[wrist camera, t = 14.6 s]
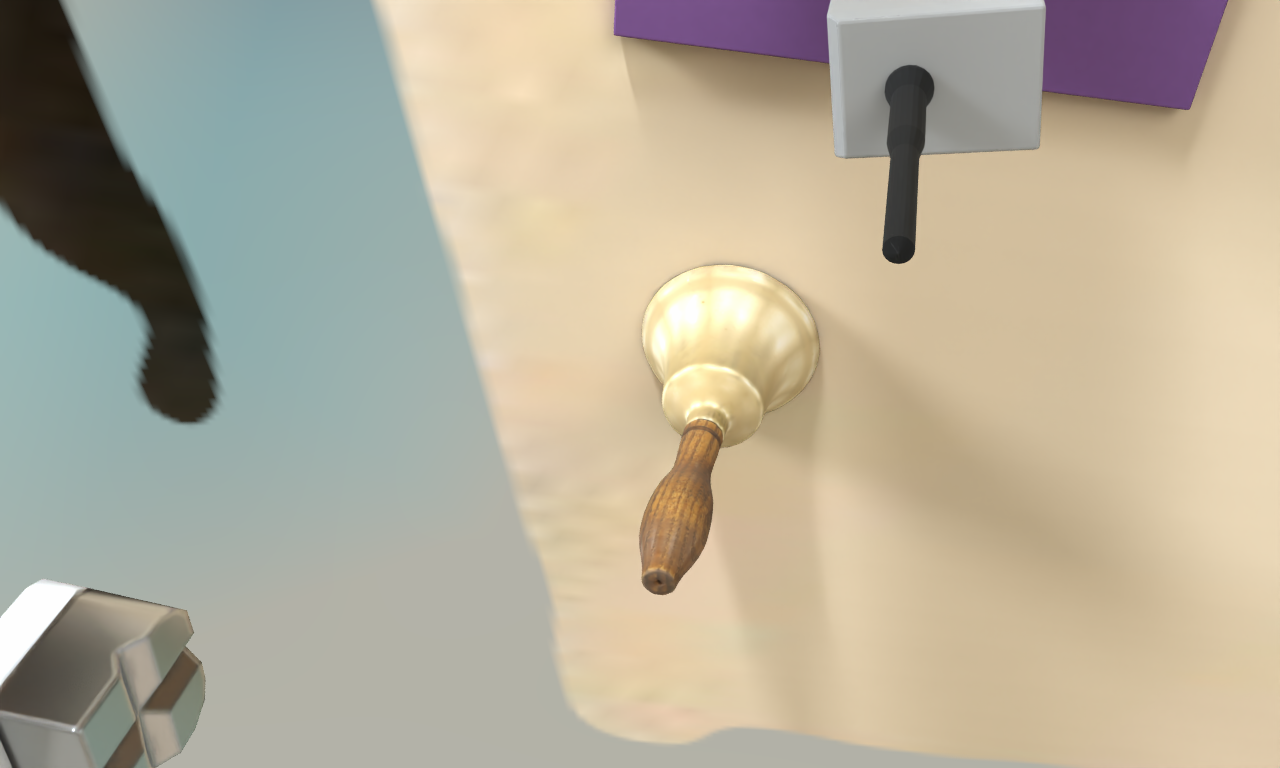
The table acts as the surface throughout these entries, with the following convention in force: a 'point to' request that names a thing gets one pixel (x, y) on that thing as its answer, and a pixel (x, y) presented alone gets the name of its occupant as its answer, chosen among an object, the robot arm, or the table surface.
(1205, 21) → the mat
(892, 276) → the table surface
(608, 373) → the table surface
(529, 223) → the table surface
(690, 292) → the hand bell
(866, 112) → the vintage mobile phone
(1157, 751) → the table surface
